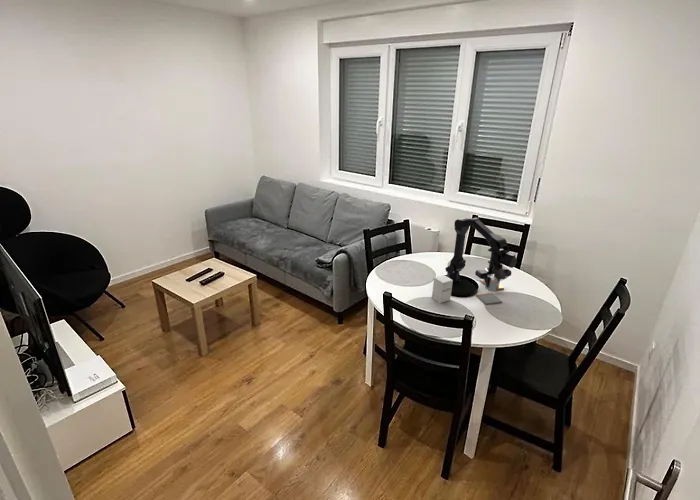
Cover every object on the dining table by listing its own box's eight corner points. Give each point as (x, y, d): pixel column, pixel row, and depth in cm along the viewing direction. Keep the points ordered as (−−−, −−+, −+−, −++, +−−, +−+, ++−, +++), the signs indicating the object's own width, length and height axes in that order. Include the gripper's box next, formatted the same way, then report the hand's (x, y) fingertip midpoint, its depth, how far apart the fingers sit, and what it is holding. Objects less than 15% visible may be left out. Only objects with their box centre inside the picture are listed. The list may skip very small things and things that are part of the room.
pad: (485, 304, 205) (486, 303, 205) (475, 295, 214) (476, 294, 214) (502, 302, 208) (502, 301, 207) (491, 293, 217) (491, 292, 216)
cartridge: (485, 287, 210) (487, 276, 207) (491, 287, 211) (493, 275, 208) (489, 291, 206) (491, 279, 204) (495, 290, 207) (498, 279, 205)
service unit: (491, 290, 220) (494, 276, 216) (480, 281, 230) (482, 267, 227) (503, 289, 222) (506, 275, 218) (491, 280, 232) (494, 266, 229)
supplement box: (440, 303, 206) (442, 282, 201) (431, 297, 212) (433, 277, 207) (450, 300, 209) (453, 280, 204) (441, 294, 215) (444, 274, 210)
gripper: (488, 269, 193) (483, 295, 199) (520, 265, 197) (514, 292, 203) (476, 260, 203) (472, 285, 209) (507, 257, 207) (502, 282, 213)
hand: (490, 286), depth 208 cm, fingers closed on cartridge, 4 cm apart
